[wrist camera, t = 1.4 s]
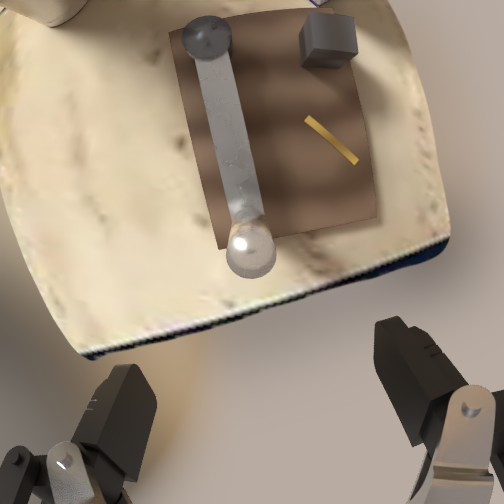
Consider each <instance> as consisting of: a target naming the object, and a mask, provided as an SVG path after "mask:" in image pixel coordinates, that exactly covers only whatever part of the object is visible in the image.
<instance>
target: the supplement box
mask: <svg viewBox="0 0 504 504" xmlns="http://www.w3.org/2000/svg"><path fill="white" fill-rule="evenodd" d="M310 1H311V2H312V3H313V4H315V5H316V6H317V7H319V6H321V5H322V4H324V3H326V2H327V1H329V0H310Z"/></svg>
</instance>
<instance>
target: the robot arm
mask: <svg viewBox="0 0 504 504" xmlns="http://www.w3.org/2000/svg"><path fill="white" fill-rule="evenodd" d="M87 1H88V0H0V6H2V7H5V8H7V9H10V10H12V11H15V12H17V13H19V14H22V15H24V16H26V17H28V18H30V19H33V20H35V21H37V22H39V23H41V24H43V25H45V26H49V27H53V26H57V25H60V24H62V23H64V22H66V21H68V20H69V19H71V18H72V17H73V16H74V15H75V14H77V13H78V12H79V11H80V10H81V9H82V8H83V6H84V5H85V4H86V3H87ZM374 365H375V369H376V372H377V375H378V377H379V379H380V381H381V383H382V384H383V387H384V389H385V391H386V393H387V394H388V397H389V399H390V401H391V403H392V405H393V407H394V409H395V411H396V413H397V415H398V417H399V419H400V421H401V423H402V425H403V428H404V430H405V432H406V434H407V436H408V438H409V440H410V443H411V445H412V447H414V446H417V445H419V444H421V443H424V445H425V446H426V449H427V451H426V453H425V456H424V459H423V462H422V465H421V468H420V471H419V473H418V476H417V479H416V481H415V484H414V486H413V489H412V491H411V494H410V496H409V498H408V501H407V503H406V504H489V502H490V498H491V495H492V490H493V485H494V477H493V474H490V473H489V472H488V467H489V461H490V462H491V464H492V466H493V468H494V470H495V473H496V475H497V477H498V479H499V482H500V484H501V487H502V489H503V491H504V390H501V391H497V392H492V393H491V392H490V391H489V390H488V389H486V388H484V387H482V386H479V385H469V384H468V383H467V382H466V381H465V379H464V378H463V377H462V375H461V374H460V373H459V371H458V370H457V369H456V368H455V366H454V365H453V364H452V363H451V361H450V360H449V359H448V357H447V356H446V355H445V354H444V353H442V350H441V349H440V348H439V346H438V345H436V343H435V342H434V340H433V339H432V338H431V337H430V336H429V334H428V333H426V332H425V331H423V330H421V329H419V328H418V327H416V326H413V327H410V328H408V327H407V326H406V324H405V323H404V322H403V321H402V319H401V318H400V317H398V316H394V317H391V318H388V319H385V320H382V321H378V322H376V324H375V334H374ZM91 400H92V401H90V402H89V404H88V406H87V410H86V411H85V413H84V414H83V417H82V419H81V421H80V423H79V425H78V427H77V429H76V431H75V433H74V435H73V437H72V440H71V441H70V442H62V443H59V444H57V445H56V446H54V447H53V448H52V449H51V450H50V452H49V454H48V455H39V456H34V455H33V454H32V453H31V452H30V451H29V450H28V449H27V448H26V447H24V446H16V447H14V448H12V449H11V450H10V451H9V452H8V453H7V454H6V456H5V458H4V461H3V463H2V465H1V467H0V504H28V501H29V498H30V495H31V492H32V493H33V494H34V495H36V496H37V497H39V498H40V499H41V500H42V502H41V504H133V503H132V501H131V500H130V498H129V496H128V494H127V492H126V490H125V489H124V488H123V487H122V486H123V482H124V481H130V482H137V480H138V475H139V472H140V468H141V463H142V460H143V456H144V453H145V449H146V445H147V442H148V438H149V434H150V431H151V427H152V423H153V420H154V416H155V413H156V409H157V400H156V396H155V394H154V392H153V390H152V389H151V387H150V385H149V384H148V382H147V380H146V378H145V377H144V375H143V373H142V371H141V370H140V368H139V367H138V366H137V365H136V364H124V365H116V366H114V368H113V369H112V371H111V373H110V375H109V377H108V379H106V380H105V381H104V382H103V383H102V384H101V385H100V386H99V387H98V388H97V389H96V391H95V393H94V395H93V397H92V399H91Z"/></svg>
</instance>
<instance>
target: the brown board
mask: <svg viewBox="0 0 504 504" xmlns="http://www.w3.org/2000/svg"><path fill="white" fill-rule="evenodd" d="M222 19H223V20H225V21H226V22H227V23H228V24H229V26H230V28H231V32H232V40H233V48H234V51H233V55H232V57H231V59H230V62H231V66H232V70H233V74H234V79H235V83H236V87H237V91H238V96H239V100H240V104H241V109H242V113H243V117H244V122H245V126H246V131H247V135H248V140H249V144H250V149H251V153H252V158H253V162H254V167H255V171H256V176H257V181H258V185H259V190H260V195H261V199H262V204H263V209H264V214H265V217H266V219H267V222H268V225H269V229H270V232H271V235H272V239H273V238H278V237H282V236H287V235H292V234H297V233H302V232H307V231H312V230H316V229H321V228H326V227H331V226H336V225H341V224H346V223H351V222H356V221H361V220H366V219H371V218H376V217H377V208H376V198H375V189H374V181H373V173H372V166H371V159H370V153H369V147H368V141H367V135H366V130H365V125H364V120H363V115H362V110H361V105H360V101H359V96H358V92H357V88H356V84H355V80H354V76H353V72H352V68H351V65H350V60H351V59H352V58H353V57H355V56H356V55H357V54H358V46H357V38H356V31H355V24H354V18H353V17H350V16H344V15H337V14H334V11H333V9H332V8H297V9H283V10H273V11H265V12H257V13H250V14H244V15H238V16H232V17H227V18H222ZM183 30H184V28H182V29H178V30H175V31H172V32H169V36H170V42H171V47H172V52H173V57H174V62H175V67H176V72H177V77H178V81H179V86H180V91H181V96H182V100H183V105H184V109H185V114H186V118H187V123H188V127H189V132H190V136H191V140H192V145H193V149H194V153H195V157H196V162H197V166H198V170H199V174H200V178H201V182H202V187H203V191H204V195H205V199H206V203H207V207H208V211H209V214H210V218H211V222H212V226H213V230H214V234H215V238H216V242H217V245H218V249H219V250H221V249H225V248H227V246H228V241H229V236H230V230H231V225H232V220H231V216H230V212H229V207H228V203H227V199H226V195H225V191H224V186H223V182H222V178H221V174H220V169H219V165H218V161H217V156H216V152H215V148H214V143H213V139H212V135H211V130H210V126H209V121H208V117H207V113H206V108H205V104H204V99H203V95H202V90H201V86H200V81H199V77H198V72H197V68H196V64H195V63H194V62H193V61H192V59H191V57H190V56H189V54H188V53H187V51H186V49H185V48H184V46H183V44H182V40H181V36H182V33H183Z"/></svg>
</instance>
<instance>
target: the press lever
mask: <svg viewBox="0 0 504 504" xmlns="http://www.w3.org/2000/svg"><path fill="white" fill-rule="evenodd" d="M181 40H182V44H183V46H184V48H185V49H186V51H187V53H188V54H189V56H190V57H191V59H192V61H193V62H194V63H195V64H196V68H197V72H198V77H199V81H200V86H201V90H202V95H203V99H204V104H205V108H206V113H207V117H208V121H209V126H210V130H211V135H212V139H213V143H214V148H215V152H216V156H217V161H218V165H219V169H220V174H221V178H222V182H223V186H224V191H225V195H226V199H227V203H228V207H229V212H230V216H231V220H232V225H231V230H230V236H229V241H228V246H227V252H226V259H227V263H228V265H229V267H230V268H231V270H232V271H233V272H234V273H235V274H237V275H238V276H240V277H243V278H248V279H254V278H259V277H262V276H264V275H266V274H267V273H268V272H269V271H270V270H271V269H272V268H273V266H274V264H275V261H276V249H275V246H274V242H273V239H272V235H271V232H270V229H269V225H268V222H267V219H266V217H265V214H264V209H263V204H262V199H261V195H260V190H259V185H258V181H257V176H256V171H255V167H254V162H253V158H252V153H251V149H250V144H249V140H248V135H247V131H246V126H245V122H244V117H243V113H242V109H241V104H240V100H239V96H238V91H237V87H236V83H235V79H234V74H233V70H232V66H231V62H230V59H231V57H232V55H233V51H234V48H233V40H232V32H231V28H230V26H229V24H228V23H227V22H226V21H225V20H223V19H222V18H219V17H216V16H203V17H199V18H197V19H195V20H193V21H191V22H190V23H189V24H188V25H187V26H186V27H185V28H184V30H183V33H182V36H181Z"/></svg>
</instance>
